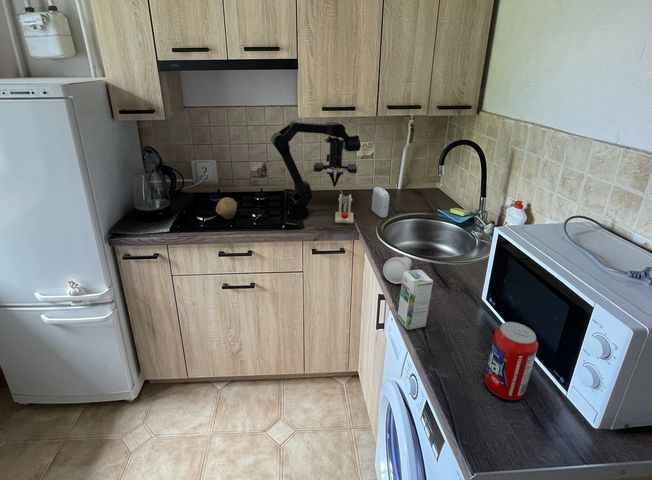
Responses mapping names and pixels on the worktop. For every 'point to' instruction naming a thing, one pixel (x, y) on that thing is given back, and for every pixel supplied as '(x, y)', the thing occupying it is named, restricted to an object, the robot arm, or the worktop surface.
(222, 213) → the natural sponge
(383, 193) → the photo printer
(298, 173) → the robot arm
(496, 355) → the soda can
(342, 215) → the switch lever
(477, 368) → the worktop surface
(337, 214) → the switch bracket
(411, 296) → the syrup box
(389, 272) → the spotlight
